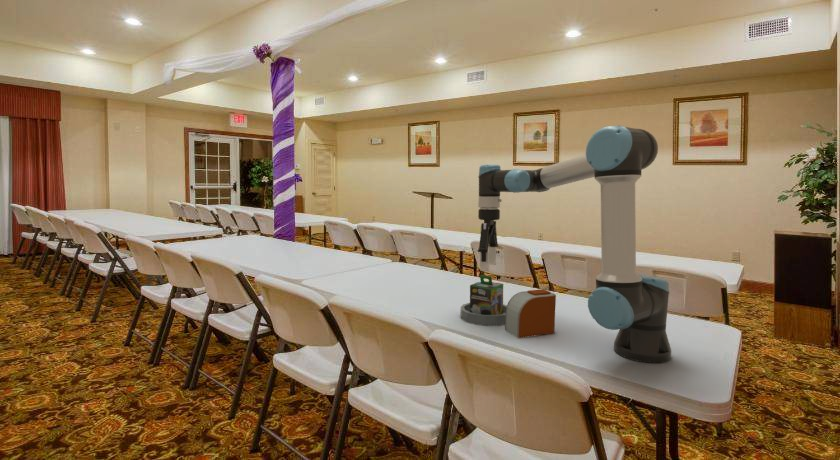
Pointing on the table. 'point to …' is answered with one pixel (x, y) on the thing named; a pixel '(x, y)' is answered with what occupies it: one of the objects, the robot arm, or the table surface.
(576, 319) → the table surface
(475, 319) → the round tray
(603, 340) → the table surface
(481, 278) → the chalk box
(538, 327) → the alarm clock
